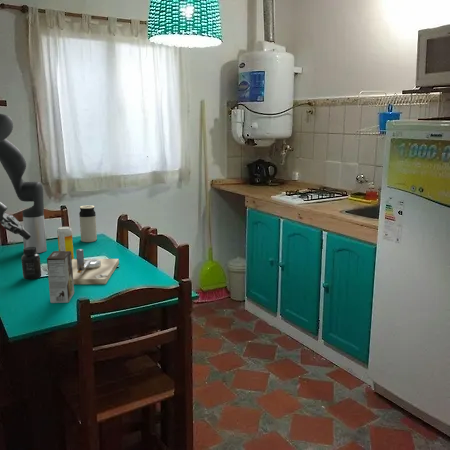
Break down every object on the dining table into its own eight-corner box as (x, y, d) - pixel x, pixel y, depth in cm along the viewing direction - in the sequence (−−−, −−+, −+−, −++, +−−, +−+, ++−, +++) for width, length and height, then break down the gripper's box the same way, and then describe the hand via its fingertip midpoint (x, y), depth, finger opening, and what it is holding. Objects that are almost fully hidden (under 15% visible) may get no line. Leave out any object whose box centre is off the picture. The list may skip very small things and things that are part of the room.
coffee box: (56, 293, 172) (53, 250, 168) (74, 293, 172) (71, 250, 169) (49, 303, 163) (45, 258, 159) (68, 302, 163) (65, 257, 160)
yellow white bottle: (76, 258, 215) (73, 226, 211) (70, 262, 209) (68, 229, 205) (63, 258, 215) (60, 226, 212) (57, 262, 209) (54, 229, 206)
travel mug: (100, 239, 249) (98, 205, 245) (89, 243, 242) (87, 208, 238) (88, 238, 252) (86, 204, 248) (77, 241, 245) (75, 207, 241)
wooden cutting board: (52, 284, 181) (52, 278, 181) (72, 263, 208) (72, 258, 207) (106, 284, 182) (106, 278, 181) (119, 263, 208) (119, 258, 208)
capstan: (81, 262, 201) (80, 238, 199) (103, 262, 202) (101, 238, 199) (67, 278, 181) (65, 252, 179) (91, 278, 182) (89, 252, 179)
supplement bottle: (45, 275, 192) (42, 246, 189) (33, 280, 185) (30, 251, 183) (31, 273, 194) (28, 245, 191) (19, 278, 187) (16, 249, 185)
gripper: (-7, 202, 164) (34, 234, 170) (-1, 196, 176) (37, 226, 182) (-22, 218, 164) (20, 249, 170) (-15, 211, 176) (24, 241, 182)
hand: (29, 237), depth 176 cm, fingers closed
